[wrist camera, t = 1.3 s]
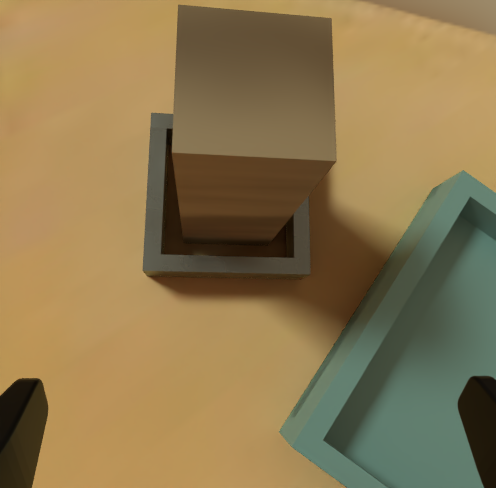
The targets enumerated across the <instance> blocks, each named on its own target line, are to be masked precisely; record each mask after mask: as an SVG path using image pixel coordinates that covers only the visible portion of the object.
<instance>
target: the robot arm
mask: <svg viewBox="0 0 496 488" xmlns="http://www.w3.org/2000/svg"><path fill="white" fill-rule="evenodd" d="M458 411H459V414H460V418H461V421H462V424H463V427H464V430H465V433H466V436H467V440H468V443H469V446H470V449H471V452H472V455H473V458H474V462H475V465H476V468H477V471H478V473H479V476H480V479H481V482H482V484H483V487H484V488H496V379H494V378H493V377H491V376H472V377H470V378H469V380H468V381H467V383H466V385H465V387H464V389H463V391H462V392H461V394H460V396H459V398H458ZM47 416H48V402H47V399H46V395H45V391H44V387H43V383H42V381H41V380H40V379H38V378H22V379H18V380H17V381H15V382H14V383H13V384H12V385H11V386H10V387H9V388H8V389H7V390H6V391H5V392H4V393H3V394H2V395H1V396H0V488H32V484H33V480H34V475H35V471H36V466H37V462H38V457H39V453H40V448H41V444H42V439H43V434H44V430H45V425H46V421H47Z"/></svg>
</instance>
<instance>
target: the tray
mask: <svg viewBox="0 0 496 488" xmlns="http://www.w3.org/2000/svg"><path fill="white" fill-rule="evenodd" d="M472 376H491V377H493V378H494V379H496V193H495V192H493V191H492V190H490V189H489V188H488V187H486V186H485V185H483V184H482V183H481V182H479V181H478V180H476V179H475V178H474V177H472V176H471V175H469V174H468V173H466V172H465V171H464V170H463V171H461V172H459V173H458V174H456V175H455V176H453V177H451V178H450V179H448V180H446V181H445V182H443V183H442V184H440V185H438V186H437V187H435V188H433V189H432V191H431V192H430V194H429V196H428V197H427V199H426V200H425V202H424V204H423V205H422V207H421V208H420V210H419V211H418V213H417V215H416V216H415V218H414V219H413V221H412V222H411V224H410V226H409V227H408V229H407V230H406V232H405V234H404V235H403V237H402V238H401V240H400V241H399V243H398V245H397V246H396V248H395V249H394V251H393V253H392V254H391V256H390V257H389V259H388V260H387V262H386V264H385V265H384V267H383V268H382V270H381V271H380V273H379V275H378V276H377V278H376V279H375V281H374V283H373V284H372V286H371V287H370V289H369V290H368V292H367V294H366V295H365V297H364V298H363V300H362V301H361V303H360V305H359V306H358V308H357V309H356V311H355V313H354V314H353V316H352V317H351V319H350V320H349V322H348V324H347V325H346V327H345V328H344V330H343V331H342V333H341V335H340V336H339V338H338V339H337V341H336V343H335V344H334V346H333V347H332V349H331V350H330V352H329V354H328V355H327V357H326V358H325V360H324V361H323V363H322V365H321V366H320V368H319V369H318V371H317V373H316V374H315V376H314V377H313V379H312V380H311V382H310V384H309V385H308V387H307V388H306V390H305V391H304V393H303V395H302V396H301V398H300V399H299V401H298V403H297V404H296V406H295V407H294V409H293V410H292V412H291V414H290V415H289V417H288V418H287V420H286V421H285V423H284V425H283V426H282V428H281V429H280V431H279V433H280V434H281V435H282V436H283V437H284V438H285V440H286V441H287V442H288V443H289V444H290V446H291V447H293V448H294V449H295V450H297V451H298V452H299V453H301V454H302V455H303V456H305V457H306V458H308V459H309V460H310V461H312V462H313V463H314V464H316V465H317V466H318V467H320V468H321V469H322V470H324V471H325V472H327V473H328V474H329V475H331V476H332V477H333V478H335V479H336V480H337V481H339V482H340V483H342V484H343V485H344V486H346V487H347V488H484V487H483V484H482V482H481V479H480V476H479V473H478V471H477V468H476V465H475V462H474V458H473V455H472V452H471V449H470V446H469V443H468V440H467V436H466V433H465V430H464V427H463V424H462V421H461V418H460V414H459V411H458V398H459V396H460V394H461V392H462V391H463V389H464V387H465V385H466V383H467V381H468V380H469V378H470V377H472Z"/></svg>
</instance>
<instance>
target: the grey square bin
mask: <svg viewBox="0 0 496 488" xmlns="http://www.w3.org/2000/svg"><path fill="white" fill-rule="evenodd" d="M172 136H173V114H163V113H151V128H150V146H149V165H148V183H147V201H146V220H145V238H144V256H143V272H144V273H145V274H146V275H147V276H166V277H214V278H262V279H303V278H305V277H306V276H308V275H310V230H309V196H308V197H307V198H306V199H305V200H304V202H303V203H302V204H301V205H300V207H299V208H298V209H297V210H296V211H295V213H294V214H293V215H292V216H291V218H290V219H289V220H288V221H287V223H286V258H277V257H239V256H201V255H164V243H165V221H166V198H167V176H168V154H169V145H172Z"/></svg>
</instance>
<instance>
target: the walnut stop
mask: <svg viewBox="0 0 496 488" xmlns="http://www.w3.org/2000/svg"><path fill="white" fill-rule="evenodd" d="M172 158H173V166H174V173H175V181H176V188H177V196H178V204H179V211H180V219H181V226H182V234H183V242H184V243H197V244H231V245H266V246H268V245H269V243H270V242H271V241H272V240H273V238H274V237H275V236H276V235H277V234H278V232H279V231H280V230H281V229H282V227H283V226H284V225H285V224H286V223H287V221H288V220H289V219H290V218H291V216H292V215H293V214H294V213H295V211H296V210H297V209H298V208H299V207H300V205H301V204H302V203H303V202H304V200H305V199H306V198H307V197H308V196H309V194H310V193H311V192H312V191H313V189H314V188H315V187H316V186H317V184H318V183H319V182H320V181H321V180H322V178H323V177H324V176H325V175H326V173H327V172H328V171H329V170H330V169H331V167H332V166H333V165H334V164H335V162H336V161H337V159H336V132H335V104H334V76H333V48H332V20H331V18H322V17H311V16H300V15H288V14H277V13H266V12H255V11H243V10H232V9H221V8H210V7H198V6H187V5H178V22H177V45H176V68H175V91H174V114H173V136H172Z"/></svg>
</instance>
